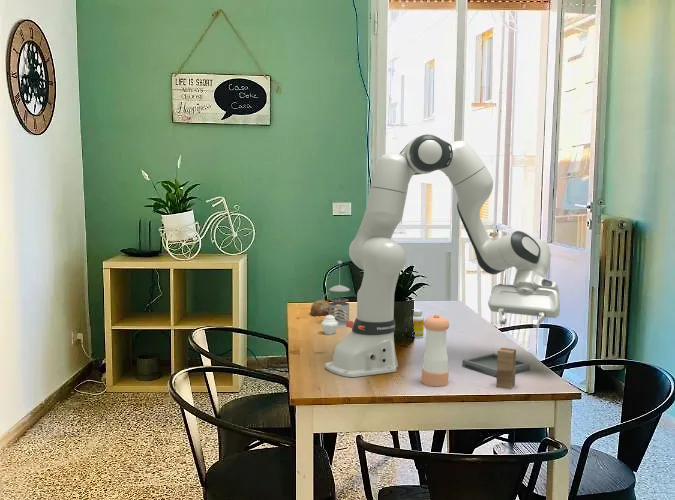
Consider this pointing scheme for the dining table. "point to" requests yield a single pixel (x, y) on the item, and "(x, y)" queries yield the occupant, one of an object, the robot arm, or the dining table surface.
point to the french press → (339, 301)
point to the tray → (491, 364)
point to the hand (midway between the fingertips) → (518, 325)
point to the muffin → (329, 324)
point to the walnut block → (506, 368)
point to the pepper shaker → (435, 352)
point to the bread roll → (320, 308)
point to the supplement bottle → (418, 323)
